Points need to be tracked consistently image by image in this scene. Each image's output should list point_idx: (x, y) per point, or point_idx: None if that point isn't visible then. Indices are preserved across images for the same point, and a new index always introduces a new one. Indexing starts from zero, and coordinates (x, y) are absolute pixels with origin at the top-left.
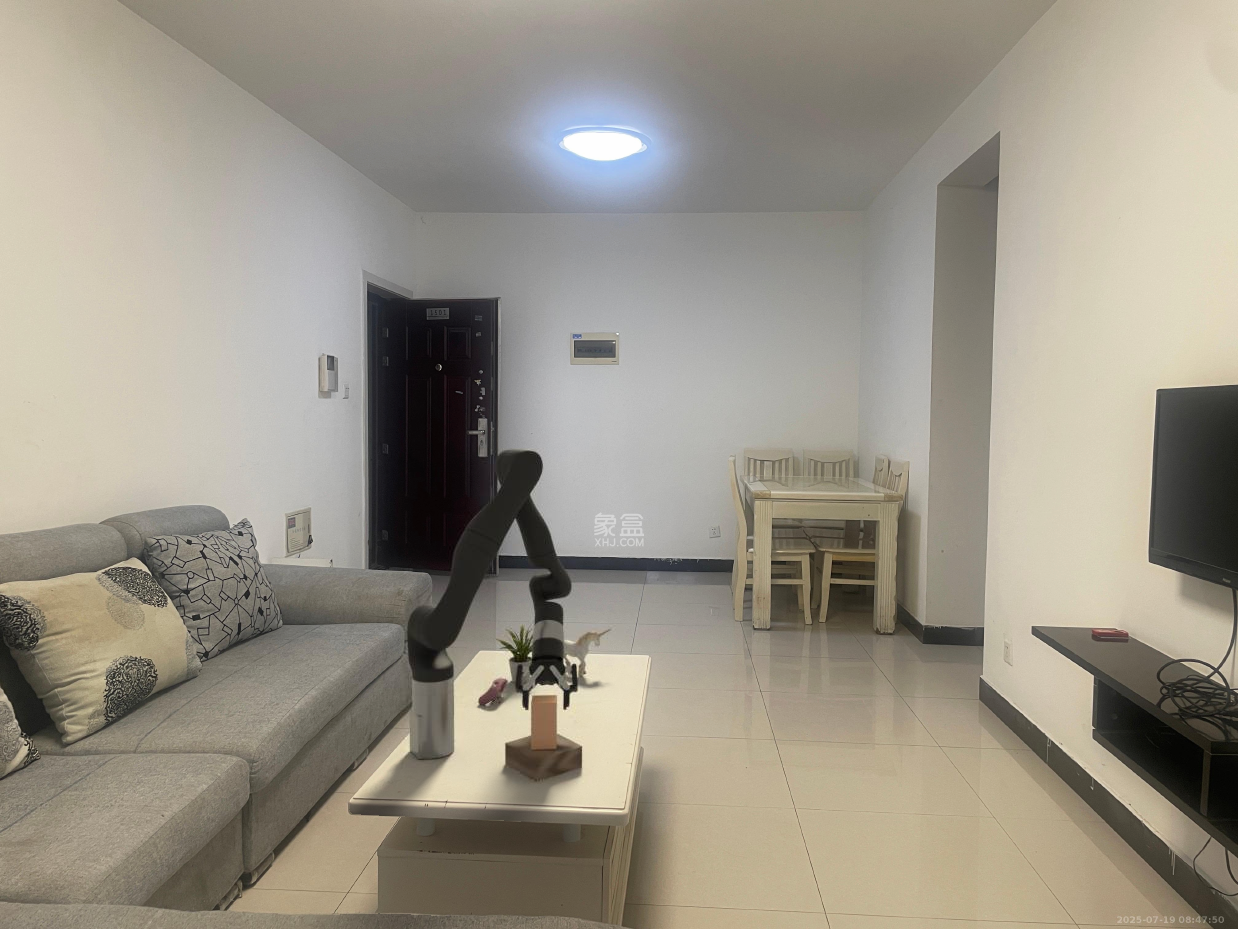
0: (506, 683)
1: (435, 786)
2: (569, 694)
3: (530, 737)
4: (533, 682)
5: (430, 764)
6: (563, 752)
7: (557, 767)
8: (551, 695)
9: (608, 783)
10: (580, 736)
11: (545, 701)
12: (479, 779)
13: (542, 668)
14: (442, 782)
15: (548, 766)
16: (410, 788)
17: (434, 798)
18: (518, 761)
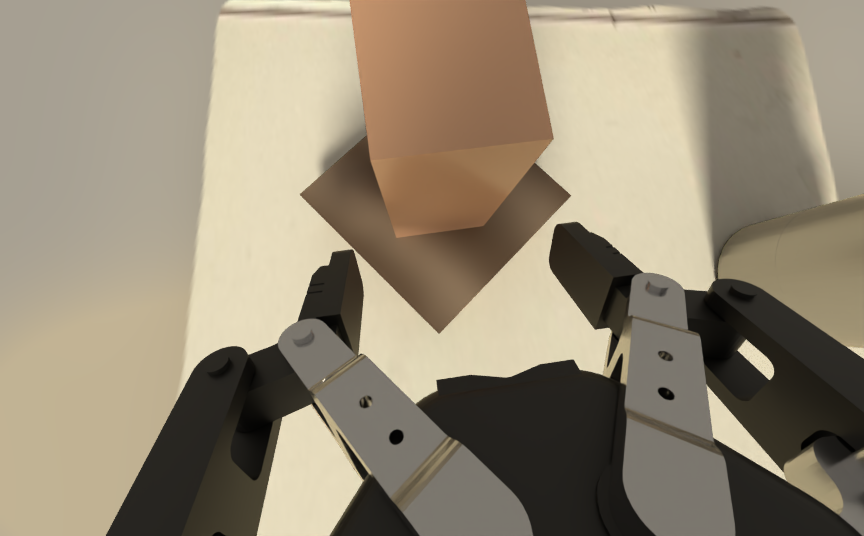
0: None
1: (669, 82)
2: (301, 313)
3: (497, 252)
4: (626, 331)
5: (739, 196)
6: (359, 142)
7: None
8: (410, 148)
9: (244, 126)
10: None
11: (429, 13)
12: (579, 123)
13: (648, 486)
14: (662, 102)
15: None
16: (720, 69)
17: (645, 29)
18: None
